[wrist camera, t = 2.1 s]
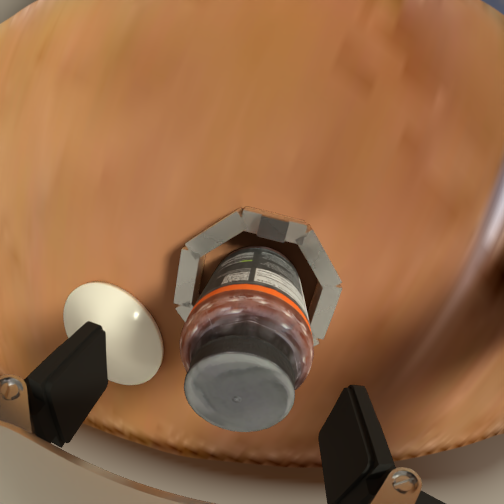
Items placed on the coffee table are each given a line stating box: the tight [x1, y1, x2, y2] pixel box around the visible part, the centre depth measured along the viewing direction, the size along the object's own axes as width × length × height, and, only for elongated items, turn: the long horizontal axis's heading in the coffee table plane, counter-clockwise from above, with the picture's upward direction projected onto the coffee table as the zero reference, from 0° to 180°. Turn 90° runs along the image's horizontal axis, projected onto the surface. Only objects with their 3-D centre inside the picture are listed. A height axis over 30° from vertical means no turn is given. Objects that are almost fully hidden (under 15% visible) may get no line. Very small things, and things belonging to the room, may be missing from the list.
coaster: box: [63, 281, 164, 385], centre depth 22 cm, size 10×10×1 cm
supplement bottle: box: [180, 246, 314, 432], centre depth 15 cm, size 6×6×11 cm
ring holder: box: [174, 206, 342, 347], centre depth 19 cm, size 10×10×3 cm
